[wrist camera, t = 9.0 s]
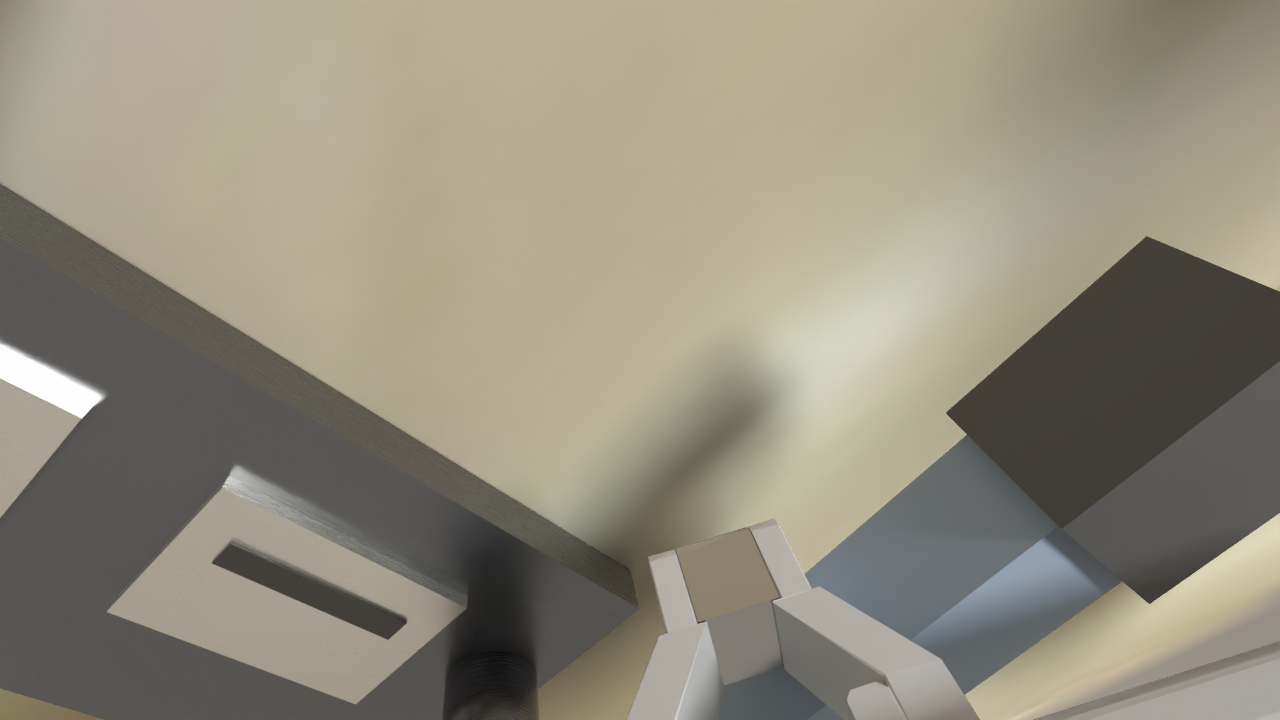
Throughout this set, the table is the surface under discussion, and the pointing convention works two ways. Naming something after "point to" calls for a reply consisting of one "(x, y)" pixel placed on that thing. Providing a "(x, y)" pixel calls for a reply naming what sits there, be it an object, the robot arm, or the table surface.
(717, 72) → the table surface
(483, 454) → the table surface
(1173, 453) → the swing arm
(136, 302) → the switch panel
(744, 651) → the robot arm
